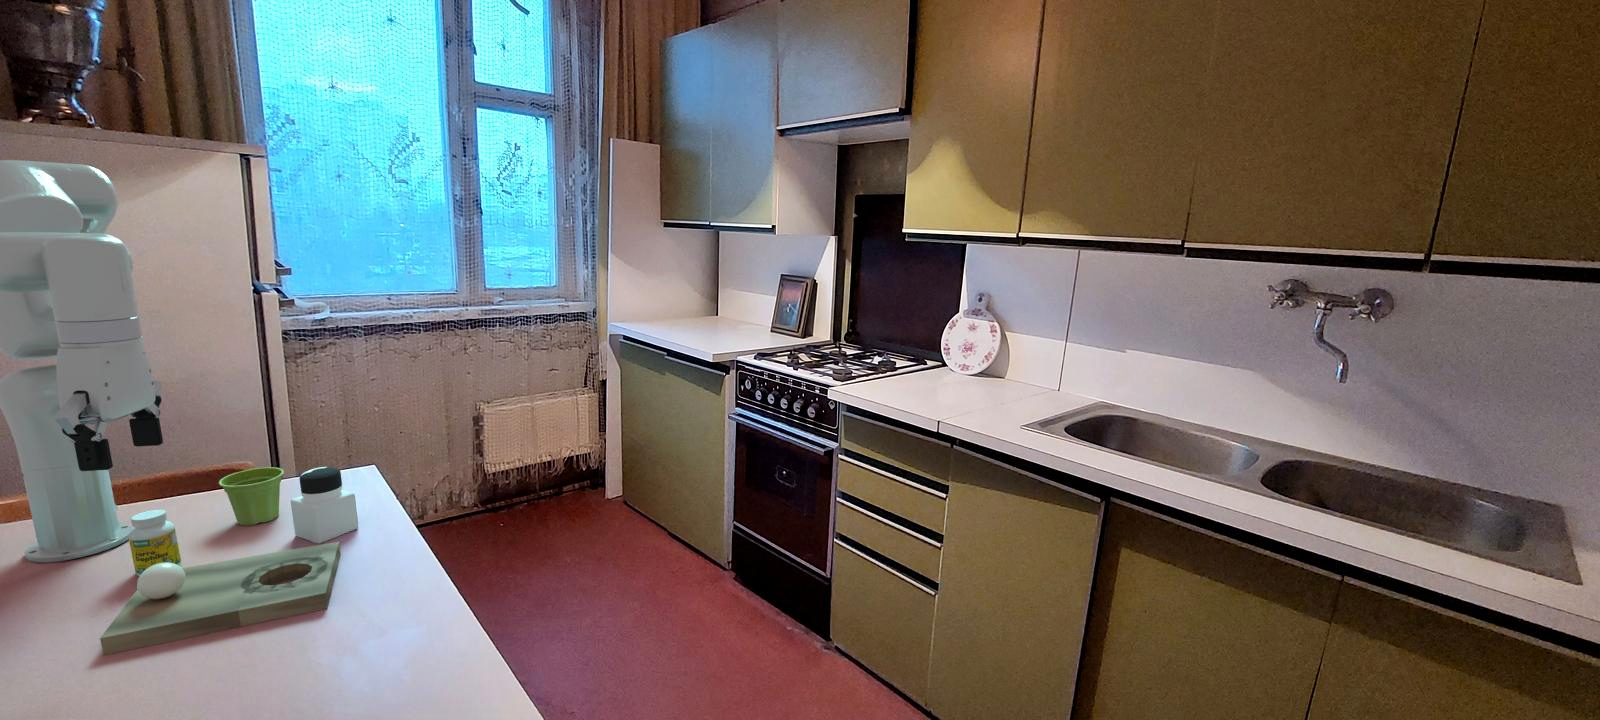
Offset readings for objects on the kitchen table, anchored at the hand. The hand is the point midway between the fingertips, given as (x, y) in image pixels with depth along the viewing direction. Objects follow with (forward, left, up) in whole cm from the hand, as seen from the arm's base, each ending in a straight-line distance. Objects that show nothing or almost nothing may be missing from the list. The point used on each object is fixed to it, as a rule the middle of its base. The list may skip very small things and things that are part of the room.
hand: (124, 456), depth 89 cm
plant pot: (-33, +6, -24) cm, 42 cm away
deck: (-1, +9, -24) cm, 26 cm away
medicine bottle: (-21, +18, -24) cm, 37 cm away
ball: (-1, +1, -19) cm, 19 cm away
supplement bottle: (-17, -4, -24) cm, 30 cm away
